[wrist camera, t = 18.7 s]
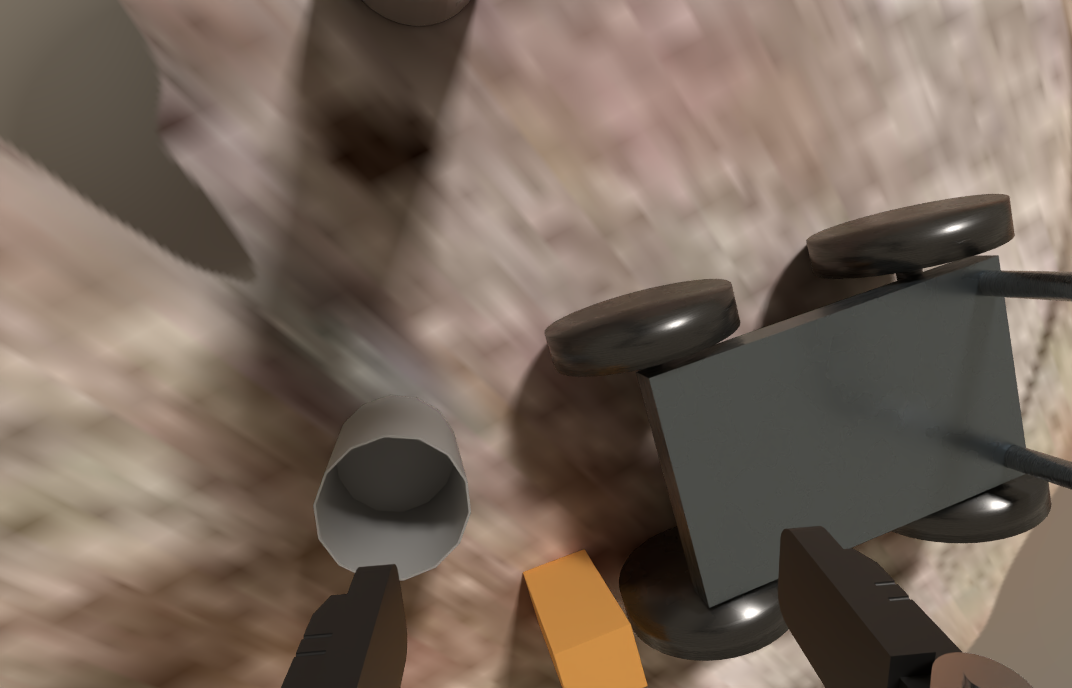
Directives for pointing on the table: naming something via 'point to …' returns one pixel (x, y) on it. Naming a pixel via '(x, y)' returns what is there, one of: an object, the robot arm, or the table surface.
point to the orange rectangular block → (584, 625)
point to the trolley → (823, 416)
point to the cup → (393, 489)
